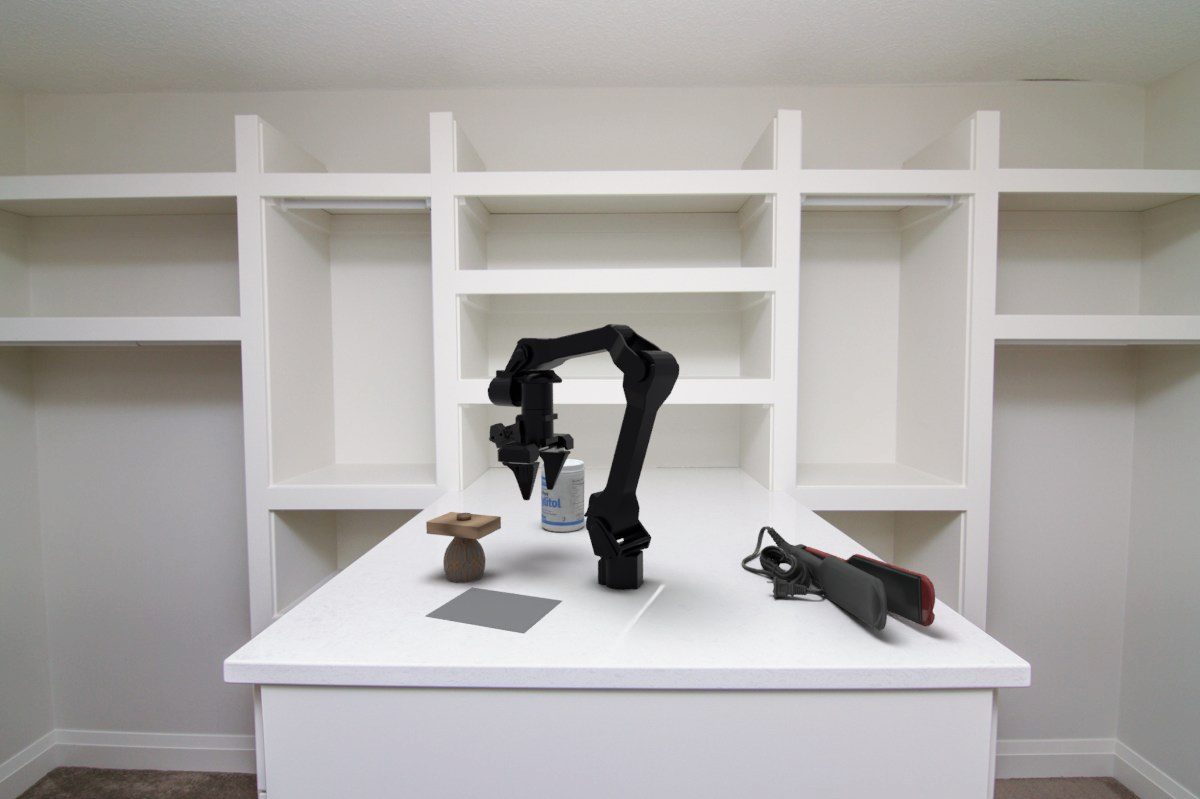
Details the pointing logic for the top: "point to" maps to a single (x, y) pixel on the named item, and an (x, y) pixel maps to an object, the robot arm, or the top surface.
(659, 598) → the top surface
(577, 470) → the supplement tub
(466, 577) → the vase
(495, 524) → the lid
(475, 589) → the mat
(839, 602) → the hair straightener
